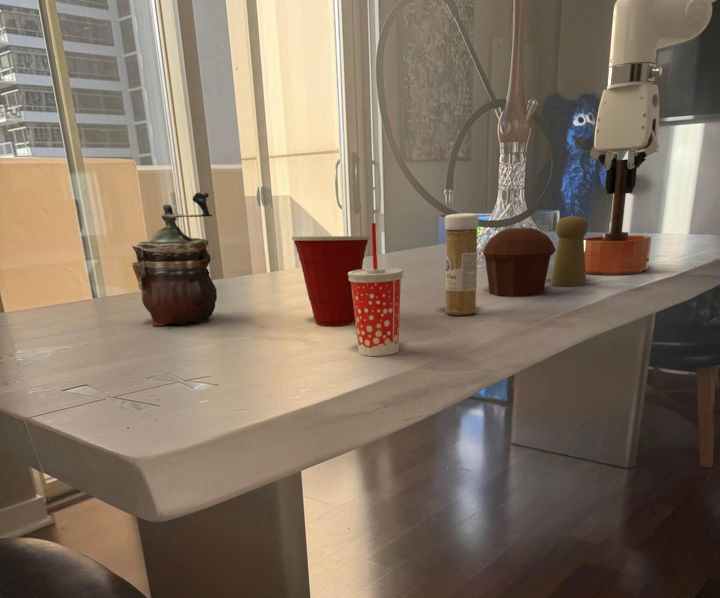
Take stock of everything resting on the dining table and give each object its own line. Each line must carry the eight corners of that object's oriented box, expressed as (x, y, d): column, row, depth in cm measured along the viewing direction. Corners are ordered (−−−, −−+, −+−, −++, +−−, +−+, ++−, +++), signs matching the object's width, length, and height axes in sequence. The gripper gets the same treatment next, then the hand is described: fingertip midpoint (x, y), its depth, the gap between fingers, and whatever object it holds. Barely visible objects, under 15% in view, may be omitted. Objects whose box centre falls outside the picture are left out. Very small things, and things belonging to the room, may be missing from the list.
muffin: (475, 297, 112) (476, 232, 108) (486, 287, 122) (487, 227, 118) (551, 297, 108) (555, 230, 105) (556, 287, 118) (559, 224, 114)
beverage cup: (378, 343, 84) (374, 221, 79) (415, 349, 80) (413, 221, 74) (341, 353, 80) (333, 225, 75) (378, 360, 76) (372, 225, 71)
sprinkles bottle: (439, 313, 101) (438, 214, 96) (465, 309, 103) (466, 212, 97) (456, 317, 97) (456, 215, 92) (483, 313, 99) (485, 213, 93)
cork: (562, 287, 117) (566, 218, 113) (543, 283, 123) (547, 217, 118) (593, 284, 119) (598, 216, 114) (573, 280, 124) (578, 215, 120)
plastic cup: (388, 317, 100) (385, 229, 95) (346, 332, 92) (340, 236, 87) (328, 313, 105) (322, 230, 101) (283, 326, 97) (274, 236, 93)
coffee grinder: (197, 333, 96) (177, 193, 89) (126, 326, 104) (103, 197, 97) (257, 316, 106) (243, 189, 99) (188, 312, 114) (171, 193, 106)
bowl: (632, 266, 138) (635, 234, 136) (658, 273, 127) (662, 238, 125) (571, 269, 138) (574, 237, 136) (592, 276, 127) (594, 242, 125)
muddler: (622, 239, 132) (630, 159, 127) (631, 241, 128) (639, 158, 123) (599, 240, 132) (606, 160, 127) (607, 242, 128) (615, 159, 123)
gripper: (686, 73, 117) (671, 191, 124) (597, 85, 128) (588, 193, 135) (668, 70, 112) (654, 193, 120) (577, 83, 123) (569, 195, 130)
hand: (619, 192), depth 127 cm, fingers closed on muddler, 2 cm apart
